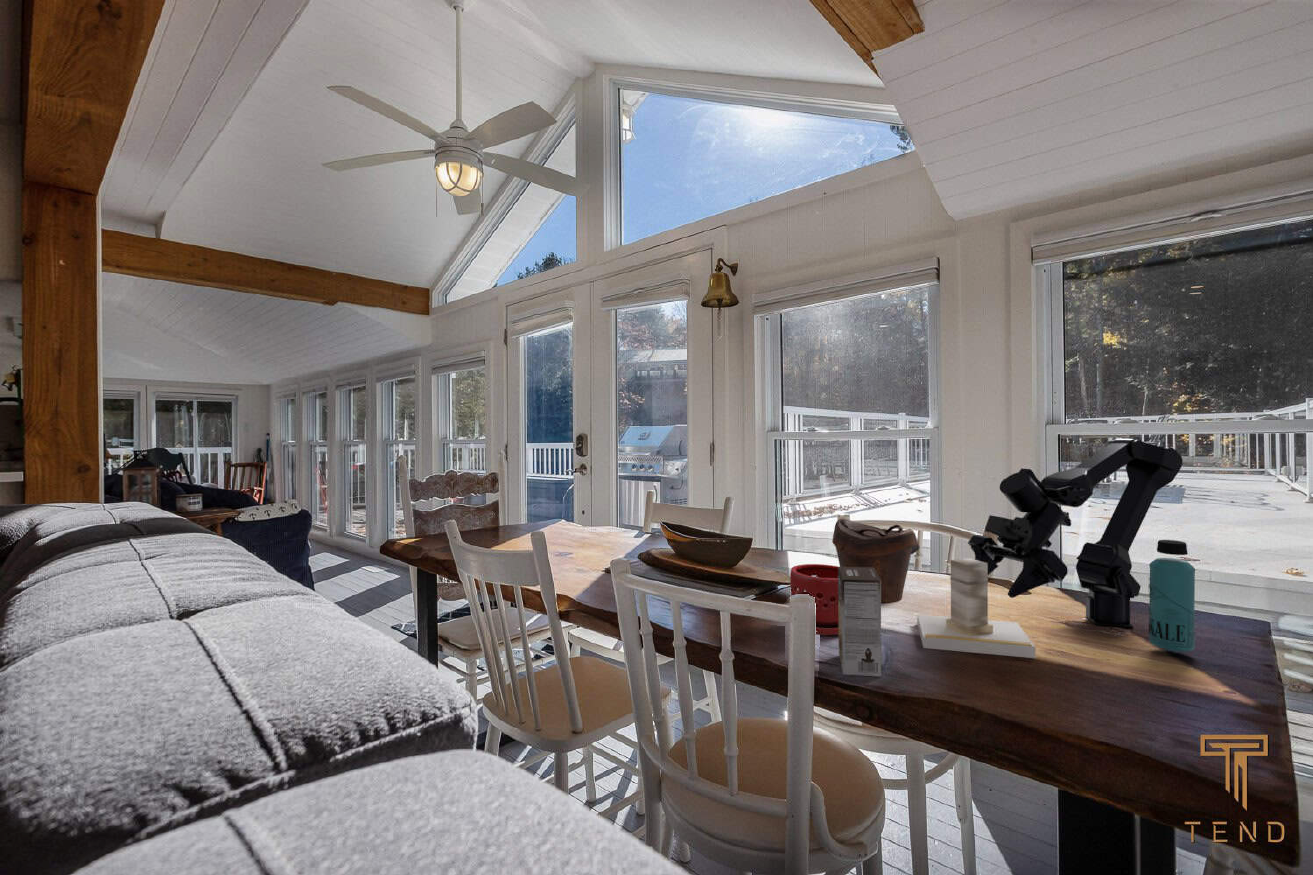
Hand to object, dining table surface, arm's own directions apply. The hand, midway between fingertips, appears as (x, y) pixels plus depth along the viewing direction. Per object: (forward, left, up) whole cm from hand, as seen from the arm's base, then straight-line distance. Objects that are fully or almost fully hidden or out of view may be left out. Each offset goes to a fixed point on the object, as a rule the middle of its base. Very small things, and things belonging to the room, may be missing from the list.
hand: (990, 589), depth 118 cm
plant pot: (+31, +3, -9) cm, 32 cm away
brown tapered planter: (+21, -25, -9) cm, 34 cm away
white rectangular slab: (+4, +2, -9) cm, 10 cm away
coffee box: (+24, +21, -9) cm, 33 cm away
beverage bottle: (-28, 0, -9) cm, 30 cm away
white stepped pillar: (+4, +3, -7) cm, 9 cm away
